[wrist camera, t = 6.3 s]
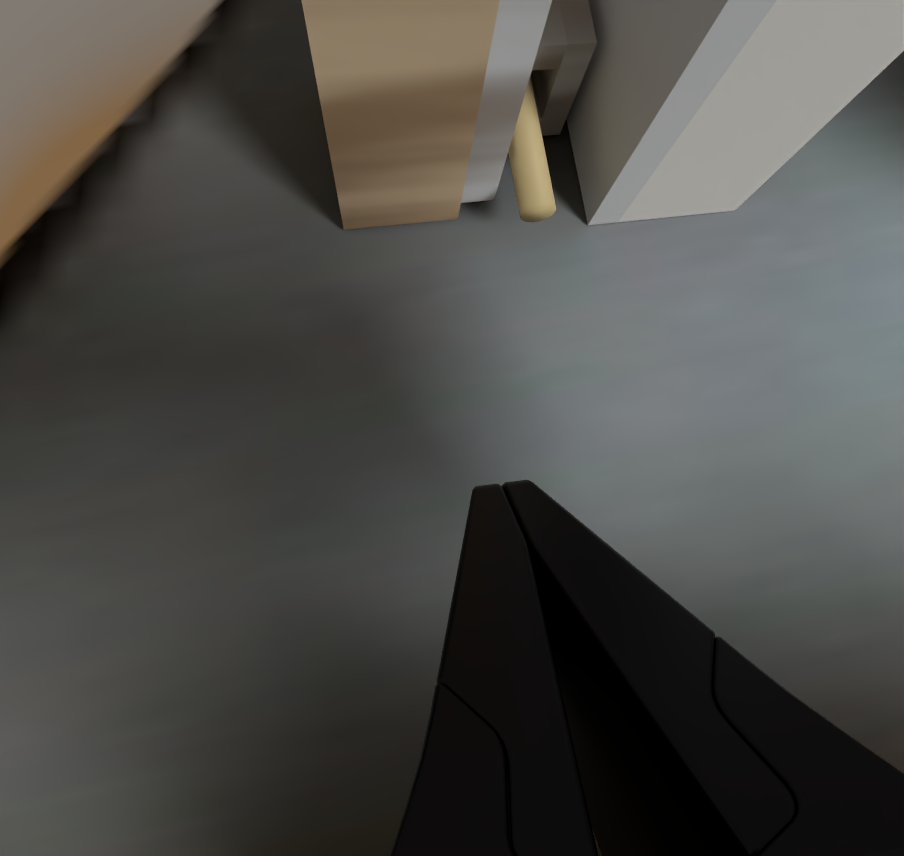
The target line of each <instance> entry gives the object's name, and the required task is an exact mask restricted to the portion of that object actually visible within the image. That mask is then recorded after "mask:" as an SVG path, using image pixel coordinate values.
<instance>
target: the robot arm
mask: <svg viewBox="0 0 904 856" xmlns="http://www.w3.org/2000/svg"><path fill="white" fill-rule="evenodd" d="M592 828H593V830H592ZM593 831H594V834H595V837H596V840H597V842H598V845H599V848H600V851H601V854H602V856H904V773H902V772H901V771H900V770H898V769H897V768H895V767H894V766H892V765H891V764H890V763H888V762H887V761H885V760H884V759H882V758H881V757H880V756H878V755H877V754H875V753H874V752H872V751H871V750H870V749H868V748H867V747H865V746H864V745H862V744H861V743H860V742H858V741H857V740H855V739H854V738H852V737H851V736H849V735H848V734H847V733H845V732H844V731H842V730H841V729H839V728H838V727H837V726H835V725H834V724H832V723H831V722H830V721H828V720H827V719H826V718H824V717H823V716H821V715H820V714H819V713H817V712H816V711H814V710H813V709H812V708H810V707H809V706H808V705H806V704H805V703H803V702H802V701H801V700H799V699H798V698H797V697H795V696H794V695H792V694H791V693H790V692H788V691H787V690H786V689H784V688H783V687H782V686H781V685H779V684H778V683H777V682H775V681H774V680H773V679H772V678H770V677H769V676H768V675H767V674H765V673H764V672H763V671H762V670H760V669H759V668H758V667H756V666H755V665H754V664H753V663H751V662H750V661H749V660H748V659H746V658H745V657H744V656H743V655H741V654H740V653H739V652H738V651H737V650H735V649H734V648H733V647H732V646H731V645H729V644H728V643H727V642H726V641H725V640H723V639H722V638H721V637H716V638H715V633H714V632H713V631H712V630H711V629H710V628H708V627H707V626H706V625H705V624H704V623H702V622H701V621H700V620H699V619H698V618H696V617H695V616H694V615H693V614H691V613H690V612H689V611H688V610H687V609H685V608H684V607H683V606H682V605H681V604H679V603H678V602H677V601H676V600H675V599H673V598H672V597H671V596H670V595H668V594H667V593H666V592H665V591H664V590H662V589H661V588H660V587H659V586H658V585H656V584H655V583H654V582H653V581H652V580H650V579H649V578H648V577H647V576H645V575H644V574H643V573H642V572H641V571H639V570H638V569H637V568H636V567H635V566H633V565H632V564H631V563H630V562H629V561H627V560H626V559H625V558H624V557H622V556H621V555H620V554H619V553H618V552H616V551H615V550H614V549H613V548H612V547H610V546H609V545H608V544H607V543H606V542H604V541H603V540H602V539H601V538H599V537H598V536H597V535H596V534H595V533H593V532H592V531H591V530H590V529H589V528H587V527H586V526H585V525H584V524H583V523H581V522H580V521H579V520H578V519H576V518H575V517H574V516H573V515H572V514H570V513H569V512H568V511H567V510H566V509H564V508H563V507H562V506H561V505H560V504H558V503H557V502H556V501H555V500H553V499H552V498H551V497H550V496H549V495H547V494H546V493H545V492H544V491H543V490H541V489H540V488H539V487H538V486H537V485H535V484H534V483H533V482H531V481H529V480H521V481H514V482H506V483H504V484H503V485H502V486H501V485H499V484H491V485H483V486H476V487H475V488H474V489H473V491H472V496H471V501H470V506H469V512H468V517H467V522H466V528H465V533H464V538H463V544H462V549H461V554H460V560H459V565H458V570H457V576H456V581H455V586H454V592H453V597H452V603H451V608H450V613H449V619H448V624H447V629H446V635H445V640H444V645H443V651H442V656H441V661H440V667H439V672H438V677H437V685H436V687H435V691H434V697H433V702H432V708H431V713H430V718H429V722H428V727H427V731H426V736H425V740H424V745H423V749H422V753H421V758H420V762H419V765H418V768H417V772H416V775H415V779H414V782H413V785H412V789H411V792H410V796H409V799H408V802H407V806H406V809H405V812H404V816H403V819H402V822H401V825H400V828H399V831H398V834H397V837H396V840H395V843H394V846H393V849H392V852H391V855H390V856H598V852H597V848H596V844H595V839H594V835H593Z"/></svg>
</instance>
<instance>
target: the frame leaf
mask: <svg viewBox="0 0 904 856" xmlns="http://www.w3.org/2000/svg"><path fill="white" fill-rule="evenodd" d="M588 2H589V7H590V11H591V16H592V20H593V25H594V30H595V34H596V39H597V45H596V47H595V50H594V52H593V55H592V57H591V59H590V62H589V64H588V67H587V69H586V72H585V74H584V77H583V79H582V81H581V84H580V86H579V89H578V91H577V94H576V96H575V99H574V101H573V103H572V106H571V108H570V111H569V113H568V116H567V118H566V120H567V125H568V130H569V135H570V139H571V144H572V149H573V154H574V159H575V164H576V169H577V174H578V179H579V184H580V189H581V194H582V199H583V204H584V209H585V213H586V218H587V223H588V225H595V224H605V223H615V222H625V221H635V220H645V219H655V218H665V217H675V216H685V215H695V214H705V213H715V212H725V211H735V210H736V209H737V208H738V207H739V206H740V205H741V204H742V203H743V202H744V201H745V200H746V199H748V198H749V197H750V196H751V195H752V194H753V193H754V192H755V191H756V190H757V189H758V188H759V187H760V186H761V185H762V184H763V183H764V182H766V181H767V180H768V179H769V178H770V177H771V176H772V175H773V174H774V173H775V172H776V171H777V170H778V169H779V168H780V167H781V166H782V165H784V164H785V163H786V162H787V161H788V160H789V159H790V158H791V157H792V156H793V155H794V154H795V153H796V152H797V151H798V150H799V149H800V148H801V147H803V146H804V145H805V144H806V143H807V142H808V141H809V140H810V139H811V138H812V137H813V136H814V135H815V134H816V133H817V132H818V131H819V130H821V129H822V128H823V127H824V126H825V125H826V124H827V123H828V122H829V121H830V120H831V119H832V118H833V117H834V116H835V115H836V114H837V113H838V112H840V111H841V110H842V109H843V108H844V107H845V106H846V105H847V104H848V103H849V102H850V101H851V100H852V99H853V98H854V97H855V96H856V95H858V94H859V93H860V92H861V91H862V90H863V89H864V88H865V87H866V86H867V85H868V84H869V83H870V82H871V81H872V80H873V79H874V78H875V77H877V76H878V75H879V74H880V73H881V72H882V71H883V70H884V69H885V68H886V67H887V66H888V65H889V64H890V63H891V62H892V61H893V60H895V59H896V58H897V57H898V56H899V55H900V54H901V53H902V52H903V51H904V0H588ZM508 153H509V159H510V164H511V169H512V175H513V180H514V186H515V191H516V197H517V202H518V208H519V213H520V218H521V219H522V220H523V221H526V222H537V221H541V220H544V219H546V218H548V217H550V216H551V215H553V214H554V213H555V211H556V205H555V200H554V195H553V190H552V184H551V179H550V174H549V169H548V164H547V159H546V154H545V148H544V143H543V138H542V133H541V128H540V123H539V118H538V112H537V107H536V102H535V97H534V92H533V87H532V82H531V76H530V78H529V82H528V85H527V89H526V92H525V96H524V99H523V103H522V106H521V109H520V113H519V116H518V120H517V123H516V127H515V130H514V134H513V137H512V140H511V144H510V147H509V151H508Z"/></svg>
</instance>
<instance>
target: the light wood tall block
mask: <svg viewBox="0 0 904 856" xmlns="http://www.w3.org/2000/svg"><path fill="white" fill-rule="evenodd" d="M302 6H303V11H304V17H305V22H306V27H307V33H308V38H309V44H310V49H311V55H312V60H313V65H314V71H315V76H316V82H317V87H318V93H319V98H320V103H321V109H322V114H323V120H324V125H325V131H326V136H327V141H328V147H329V152H330V158H331V163H332V169H333V174H334V179H335V185H336V190H337V196H338V201H339V207H340V212H341V217H342V223H343V228H344V230H346V229H357V228H367V227H378V226H388V225H399V224H409V223H419V222H430V221H440V220H451V219H458V216H459V210H460V205H461V203H465V202H475V201H486V200H494V199H495V195H496V192H497V189H498V185H499V182H500V178H501V175H502V171H503V168H504V164H505V161H506V158H507V154H508V151H509V147H510V144H511V140H512V137H513V134H514V130H515V127H516V123H517V120H518V116H519V113H520V109H521V106H522V103H523V99H524V96H525V92H526V89H527V85H528V82H529V78H530V76H531V82H532V87H533V92H534V97H535V102H536V107H537V112H538V118H539V123H540V128H541V133H542V136H545V135H558V134H560V133H561V130H562V128H563V125H564V123H565V121H566V118H567V116H568V113H569V111H570V108H571V106H572V103H573V101H574V99H575V96H576V94H577V91H578V89H579V86H580V84H581V81H582V79H583V77H584V74H585V72H586V69H587V67H588V64H589V62H590V59H591V57H592V55H593V52H594V50H595V47H596V45H597V39H596V34H595V30H594V25H593V20H592V16H591V11H590V7H589V2H588V0H302Z"/></svg>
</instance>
